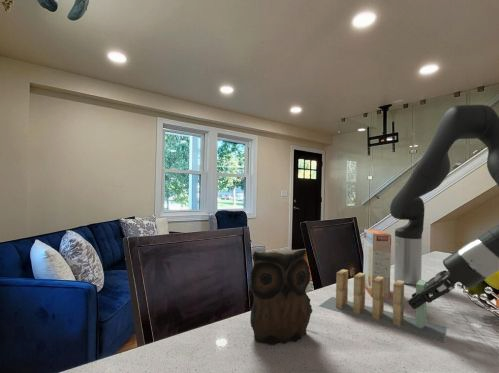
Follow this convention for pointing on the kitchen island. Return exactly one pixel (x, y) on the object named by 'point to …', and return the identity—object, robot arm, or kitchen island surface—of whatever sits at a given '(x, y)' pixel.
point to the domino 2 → (359, 293)
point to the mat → (391, 321)
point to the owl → (280, 296)
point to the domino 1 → (341, 288)
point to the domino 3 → (378, 297)
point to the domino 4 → (398, 302)
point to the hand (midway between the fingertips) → (412, 302)
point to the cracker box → (377, 259)
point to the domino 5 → (421, 309)
